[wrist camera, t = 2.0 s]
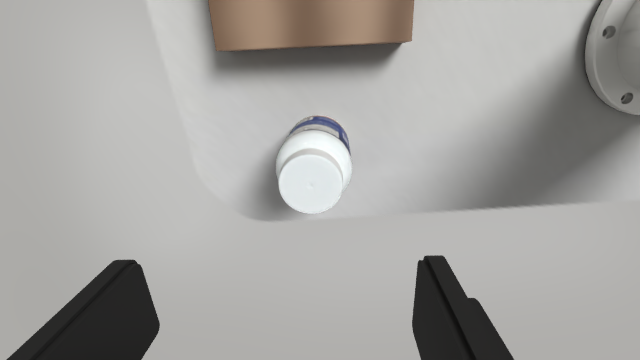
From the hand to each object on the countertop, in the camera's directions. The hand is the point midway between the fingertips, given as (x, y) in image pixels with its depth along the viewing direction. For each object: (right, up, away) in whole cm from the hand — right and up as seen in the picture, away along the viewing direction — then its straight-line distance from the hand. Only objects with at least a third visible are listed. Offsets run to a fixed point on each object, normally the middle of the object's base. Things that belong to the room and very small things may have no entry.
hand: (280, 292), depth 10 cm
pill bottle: (+1, +7, +17) cm, 19 cm away
